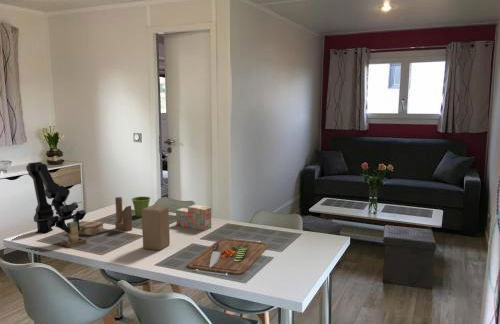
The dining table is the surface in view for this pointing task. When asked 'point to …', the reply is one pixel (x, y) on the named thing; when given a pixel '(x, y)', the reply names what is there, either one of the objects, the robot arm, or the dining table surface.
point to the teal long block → (73, 232)
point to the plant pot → (140, 204)
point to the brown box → (90, 227)
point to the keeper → (74, 243)
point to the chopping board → (228, 256)
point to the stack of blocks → (194, 217)
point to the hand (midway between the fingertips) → (74, 231)
